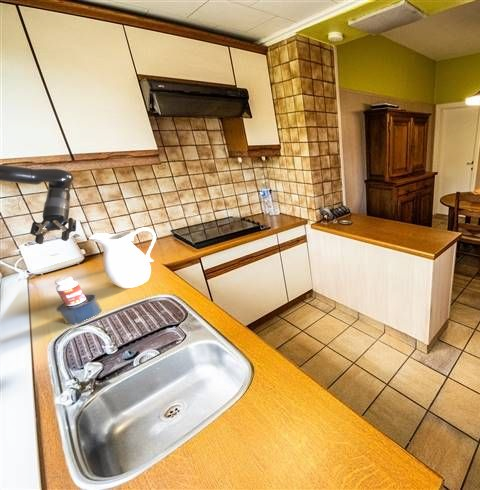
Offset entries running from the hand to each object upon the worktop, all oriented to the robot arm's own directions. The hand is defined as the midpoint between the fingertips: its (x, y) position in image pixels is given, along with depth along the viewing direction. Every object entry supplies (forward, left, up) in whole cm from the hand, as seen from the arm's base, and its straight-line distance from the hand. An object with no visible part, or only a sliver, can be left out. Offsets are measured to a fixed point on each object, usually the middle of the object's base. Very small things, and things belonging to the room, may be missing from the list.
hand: (51, 241), depth 115 cm
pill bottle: (+2, -22, -22) cm, 31 cm away
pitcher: (+23, -2, -29) cm, 37 cm away
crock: (+2, -22, -29) cm, 36 cm away
